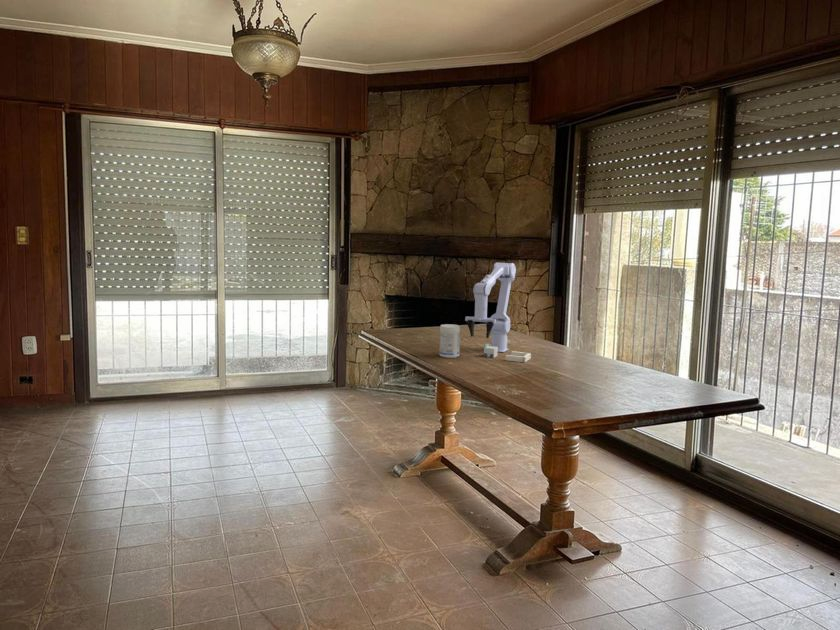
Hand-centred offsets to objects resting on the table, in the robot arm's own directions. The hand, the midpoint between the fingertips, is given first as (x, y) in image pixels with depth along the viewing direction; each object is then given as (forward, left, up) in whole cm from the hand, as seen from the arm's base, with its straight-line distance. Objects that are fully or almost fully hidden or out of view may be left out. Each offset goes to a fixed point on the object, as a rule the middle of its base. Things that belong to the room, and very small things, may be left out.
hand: (479, 337), depth 301 cm
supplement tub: (+7, -13, -10) cm, 17 cm away
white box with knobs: (-4, +4, -10) cm, 11 cm away
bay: (-4, +17, -10) cm, 20 cm away
